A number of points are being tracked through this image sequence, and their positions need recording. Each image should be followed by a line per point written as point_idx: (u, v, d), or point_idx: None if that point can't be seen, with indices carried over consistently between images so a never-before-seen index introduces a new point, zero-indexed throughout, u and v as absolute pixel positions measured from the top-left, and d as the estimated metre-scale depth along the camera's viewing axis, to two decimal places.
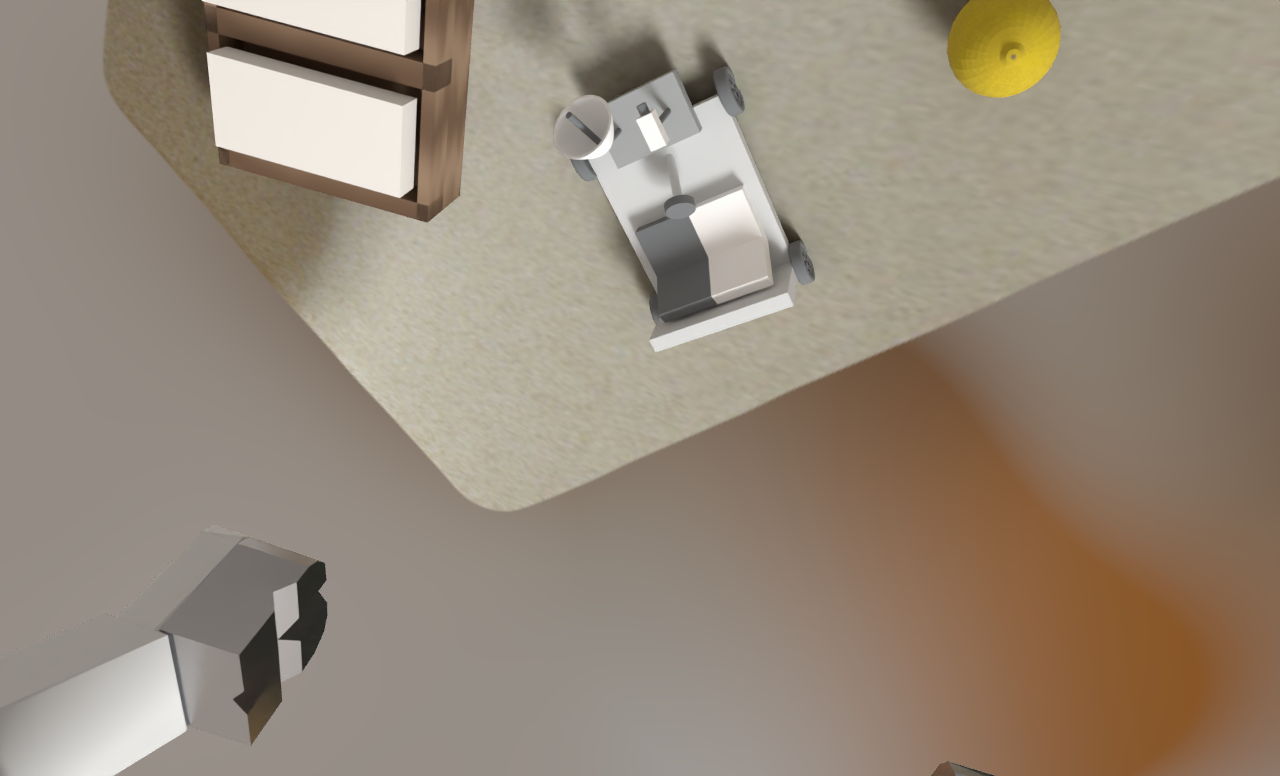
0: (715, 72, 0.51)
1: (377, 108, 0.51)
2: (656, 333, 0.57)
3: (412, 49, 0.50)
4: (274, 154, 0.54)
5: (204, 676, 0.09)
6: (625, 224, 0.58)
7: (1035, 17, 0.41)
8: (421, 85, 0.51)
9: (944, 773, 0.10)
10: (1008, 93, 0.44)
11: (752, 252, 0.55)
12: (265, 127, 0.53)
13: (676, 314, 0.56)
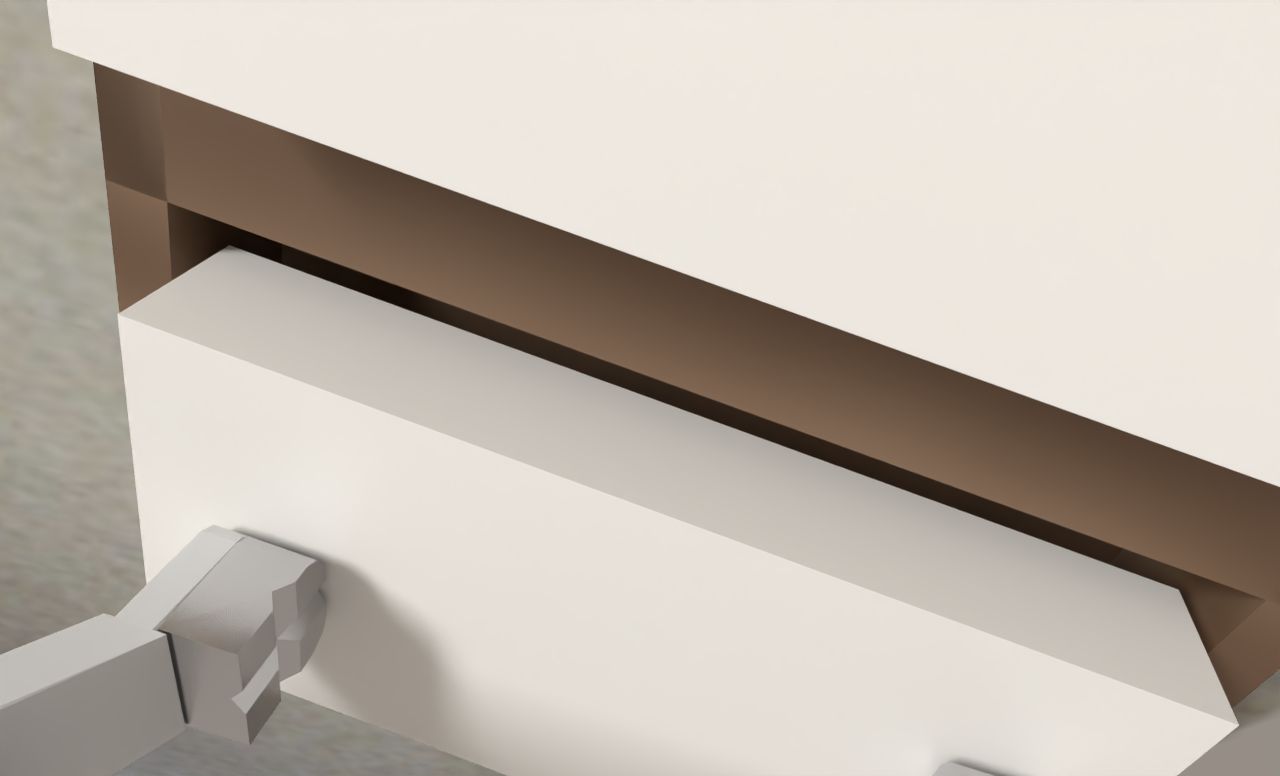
0: None
1: None
2: None
3: None
4: None
5: (203, 675, 0.09)
6: None
7: None
8: None
9: (945, 773, 0.10)
10: None
11: None
12: None
13: None
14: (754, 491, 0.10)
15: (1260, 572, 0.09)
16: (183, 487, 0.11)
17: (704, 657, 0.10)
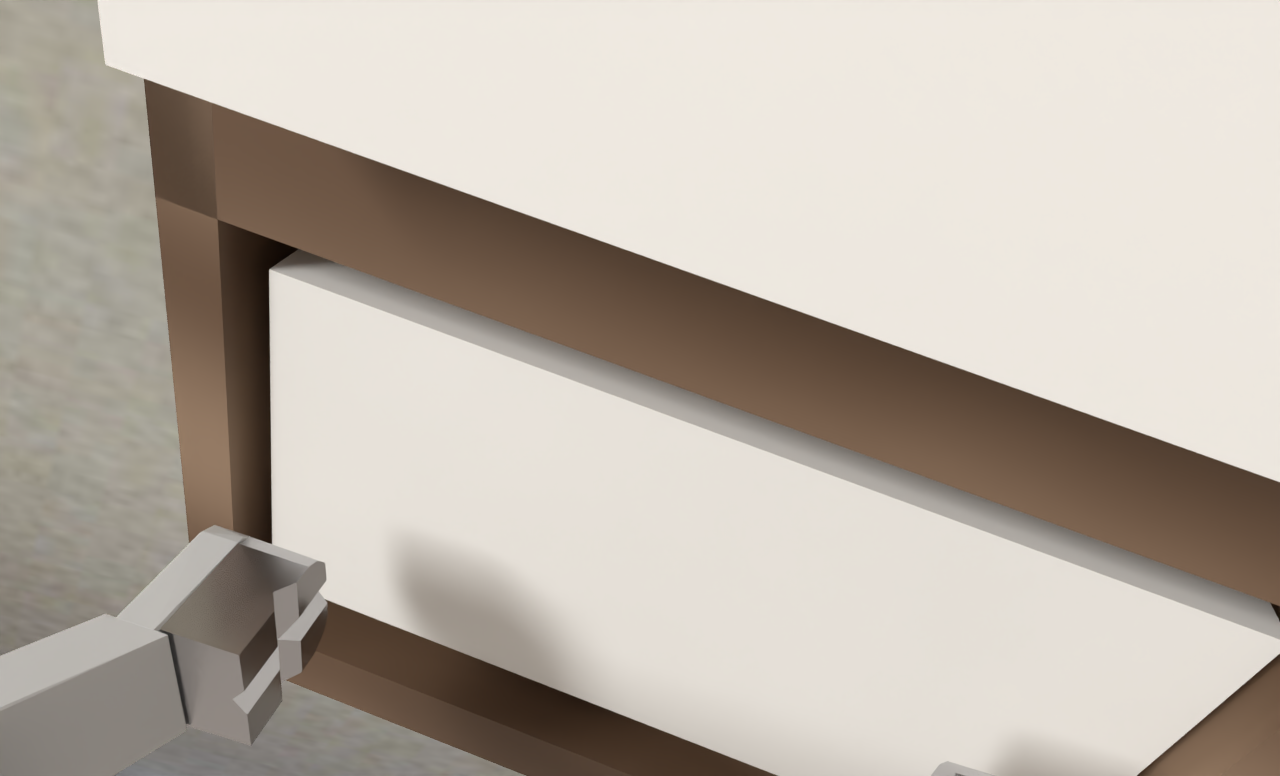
0: None
1: None
2: None
3: None
4: None
5: (204, 676, 0.09)
6: None
7: None
8: None
9: (944, 773, 0.10)
10: None
11: None
12: None
13: None
14: None
15: None
16: (314, 430, 0.12)
17: (788, 586, 0.11)
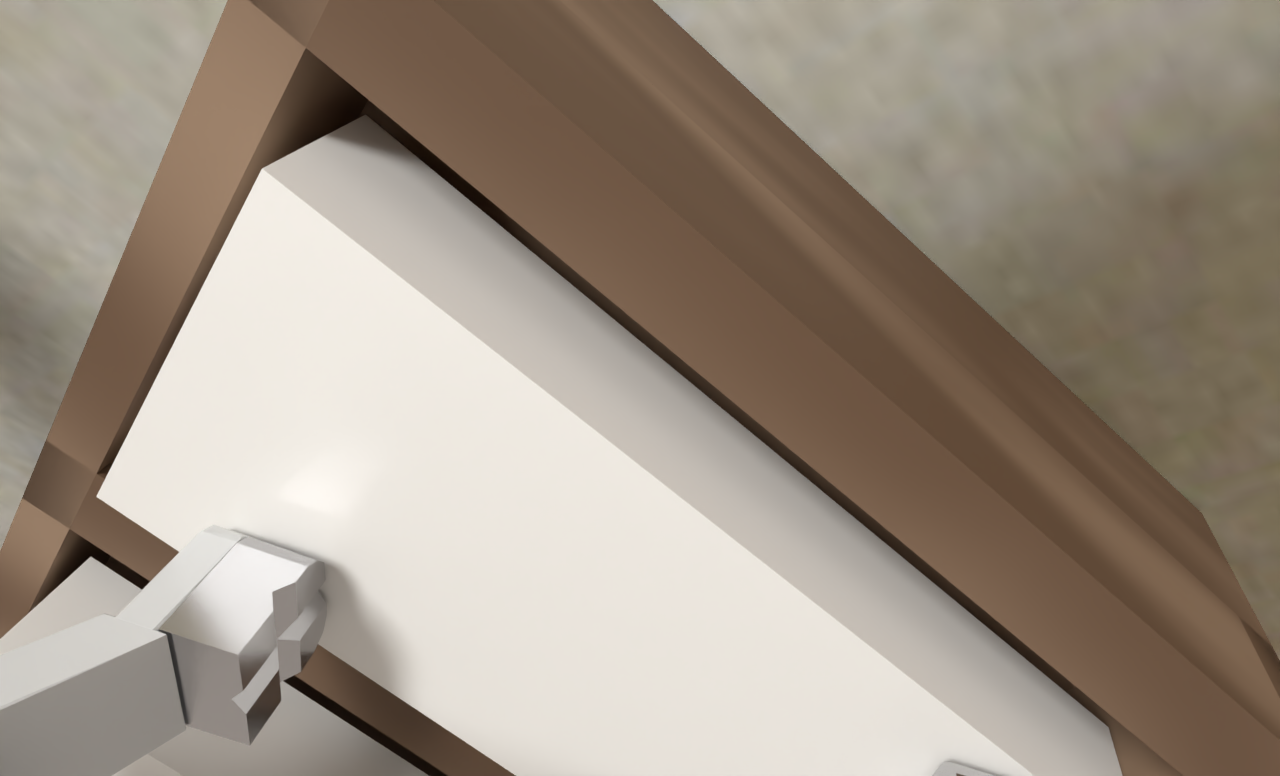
0: None
1: None
2: None
3: (44, 601, 0.13)
4: (876, 699, 0.10)
5: (203, 676, 0.09)
6: None
7: None
8: (95, 484, 0.12)
9: (945, 773, 0.10)
10: None
11: None
12: (808, 769, 0.11)
13: None
14: None
15: None
16: None
17: None
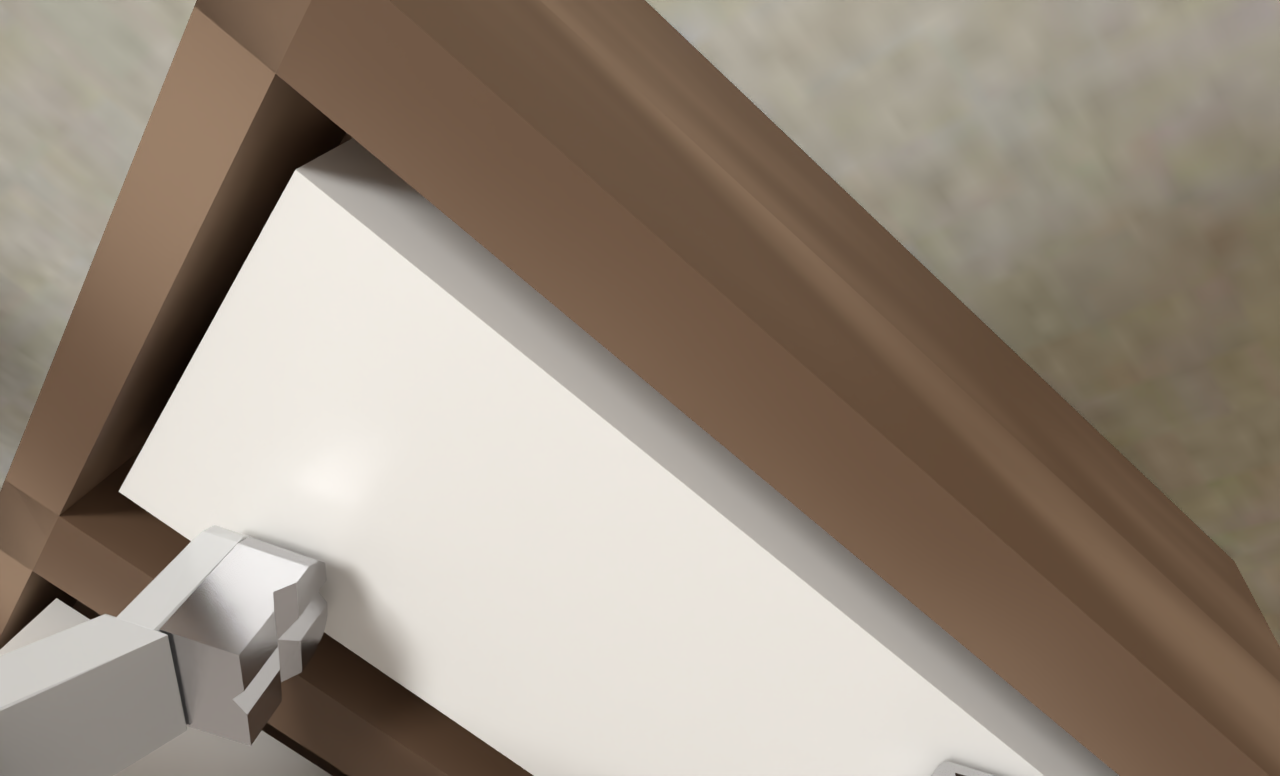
0: None
1: None
2: None
3: (4, 647, 0.12)
4: (892, 702, 0.10)
5: (204, 676, 0.09)
6: None
7: None
8: (58, 526, 0.11)
9: (944, 773, 0.10)
10: None
11: None
12: (822, 770, 0.11)
13: None
14: None
15: None
16: None
17: None
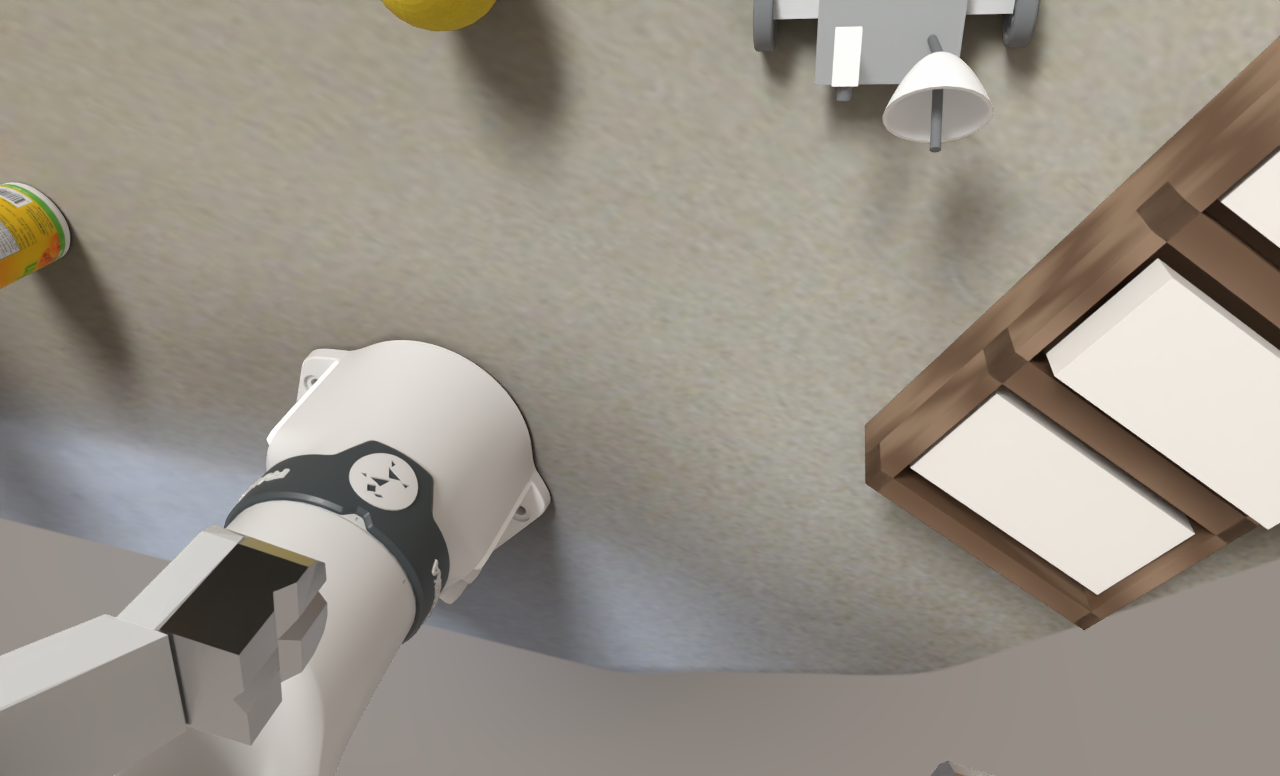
0: (769, 50, 0.38)
1: (1263, 214, 0.33)
2: None
3: (1161, 269, 0.34)
4: None
5: (204, 676, 0.09)
6: None
7: (385, 1, 0.35)
8: (1196, 217, 0.34)
9: (944, 773, 0.10)
10: None
11: None
12: None
13: None
14: (1107, 463, 0.42)
15: (1217, 528, 0.41)
16: (971, 432, 0.42)
17: (1082, 499, 0.42)
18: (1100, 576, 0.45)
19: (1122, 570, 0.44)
